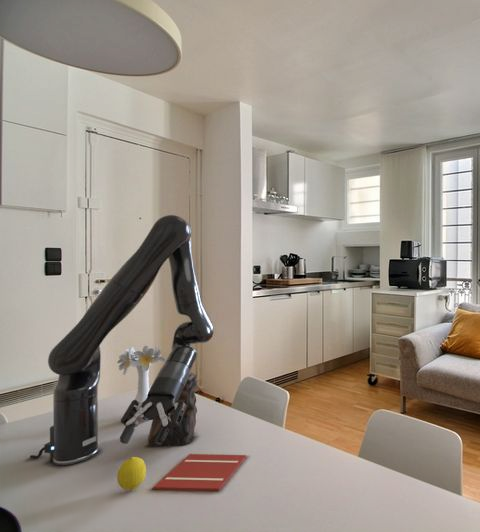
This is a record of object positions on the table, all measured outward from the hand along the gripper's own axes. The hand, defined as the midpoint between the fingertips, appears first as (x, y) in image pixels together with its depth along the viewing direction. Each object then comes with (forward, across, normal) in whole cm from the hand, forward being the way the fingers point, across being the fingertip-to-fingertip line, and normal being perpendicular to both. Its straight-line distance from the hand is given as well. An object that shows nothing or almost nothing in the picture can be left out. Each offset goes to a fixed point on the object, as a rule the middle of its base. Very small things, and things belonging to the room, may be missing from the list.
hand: (140, 443), depth 91 cm
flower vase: (-18, -26, +32) cm, 45 cm away
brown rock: (-8, -6, +22) cm, 25 cm away
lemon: (+9, 0, +5) cm, 10 cm away
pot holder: (+3, +13, +10) cm, 17 cm away
